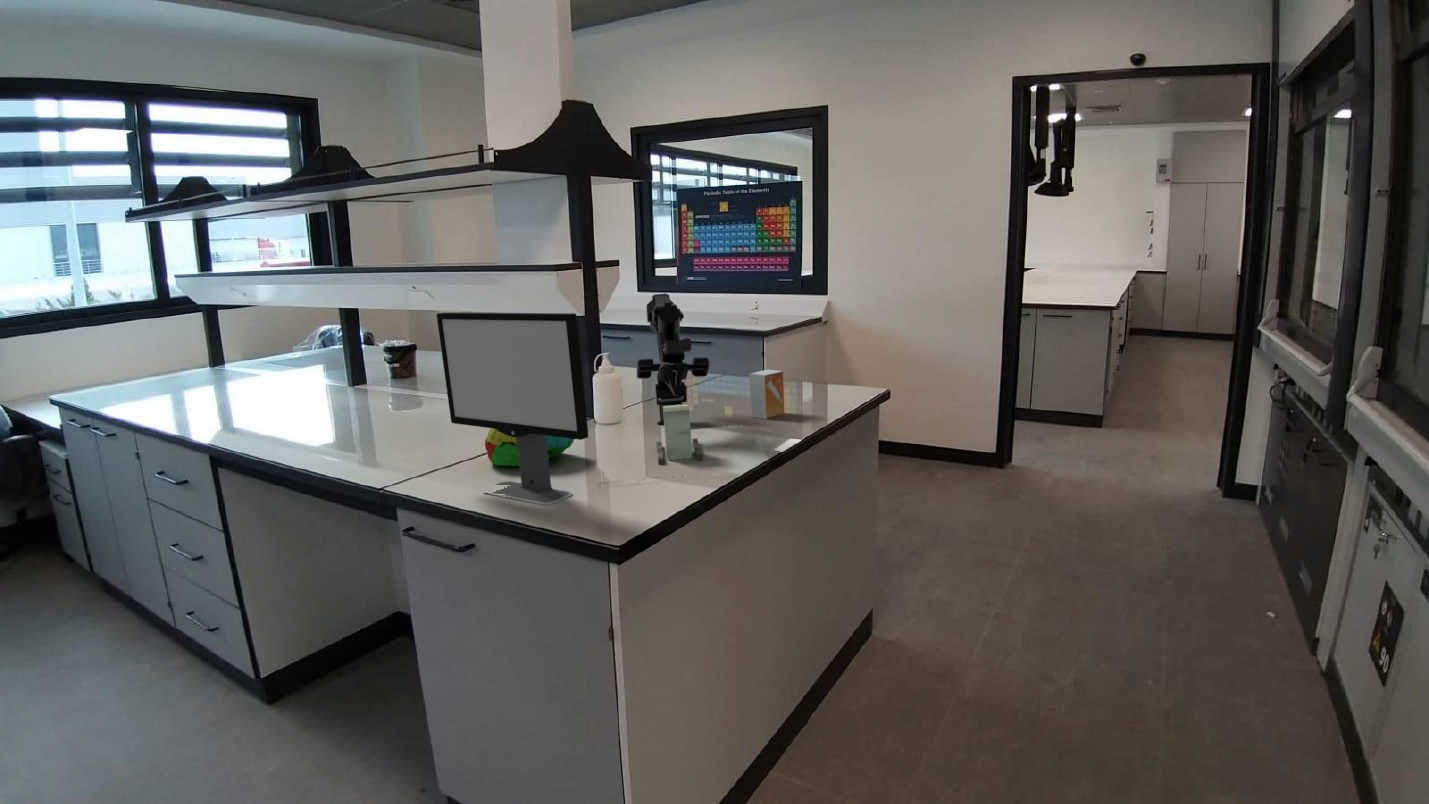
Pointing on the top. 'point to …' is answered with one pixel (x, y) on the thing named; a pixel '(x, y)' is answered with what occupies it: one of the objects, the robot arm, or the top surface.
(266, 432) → the top surface
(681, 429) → the sage block
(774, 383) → the small box
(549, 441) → the brain model
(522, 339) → the computer monitor
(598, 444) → the top surface
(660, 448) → the walnut chute
